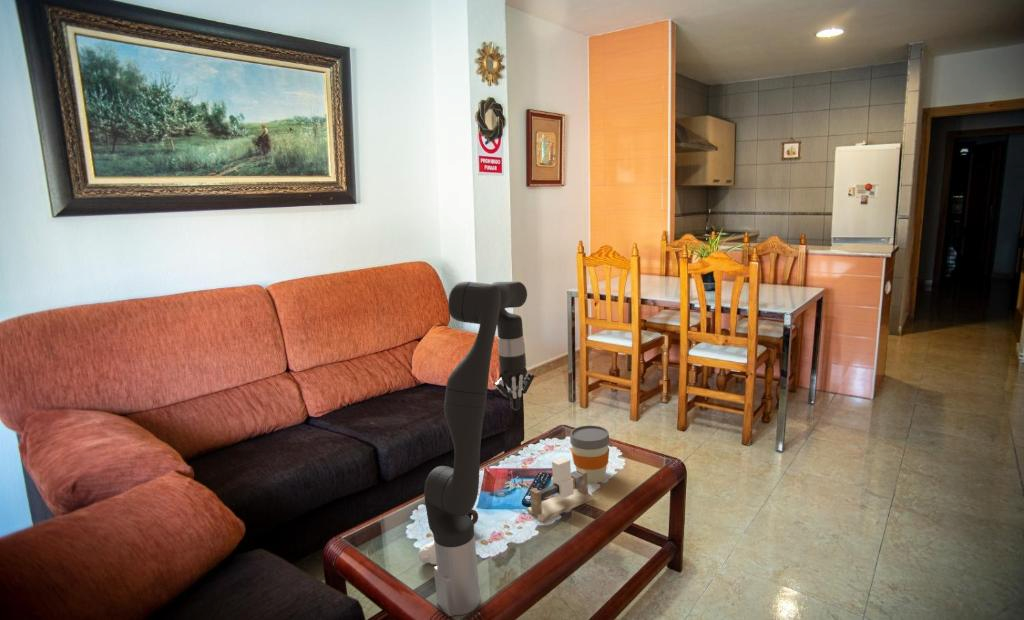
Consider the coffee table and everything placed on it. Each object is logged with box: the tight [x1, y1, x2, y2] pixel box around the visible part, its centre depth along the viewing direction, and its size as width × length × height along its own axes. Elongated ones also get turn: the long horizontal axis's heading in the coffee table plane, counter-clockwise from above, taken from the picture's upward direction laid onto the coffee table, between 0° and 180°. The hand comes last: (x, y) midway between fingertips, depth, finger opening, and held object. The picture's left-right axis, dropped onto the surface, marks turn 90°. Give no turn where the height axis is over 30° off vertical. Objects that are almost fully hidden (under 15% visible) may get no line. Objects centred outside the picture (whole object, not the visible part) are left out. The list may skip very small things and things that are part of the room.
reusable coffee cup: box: [569, 424, 611, 484], centre depth 193 cm, size 13×12×15 cm
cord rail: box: [526, 469, 594, 523], centre depth 178 cm, size 19×7×8 cm, turn 124°
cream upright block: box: [550, 456, 574, 499], centre depth 178 cm, size 4×5×10 cm
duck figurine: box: [417, 531, 437, 566], centre depth 155 cm, size 12×8×11 cm
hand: (516, 409), depth 173 cm, fingers closed
